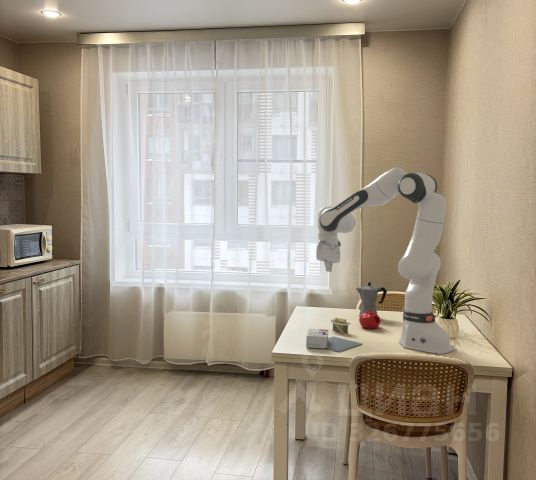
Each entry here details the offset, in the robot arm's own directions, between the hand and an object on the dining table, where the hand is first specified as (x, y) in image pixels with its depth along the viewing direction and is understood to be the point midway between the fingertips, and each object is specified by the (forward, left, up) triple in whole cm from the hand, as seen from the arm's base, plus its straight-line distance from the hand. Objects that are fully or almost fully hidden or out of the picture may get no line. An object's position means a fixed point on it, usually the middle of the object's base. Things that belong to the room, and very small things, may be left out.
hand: (328, 271), depth 254 cm
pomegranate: (-13, -15, -27) cm, 33 cm away
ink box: (-11, +20, -24) cm, 33 cm away
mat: (-20, +19, -26) cm, 38 cm away
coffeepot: (-2, -32, -27) cm, 42 cm away
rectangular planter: (-9, +2, -27) cm, 28 cm away
